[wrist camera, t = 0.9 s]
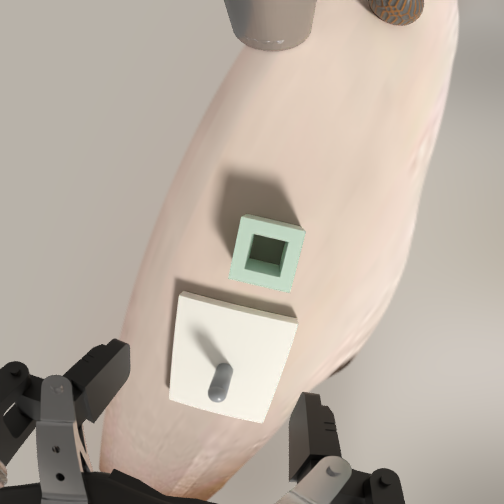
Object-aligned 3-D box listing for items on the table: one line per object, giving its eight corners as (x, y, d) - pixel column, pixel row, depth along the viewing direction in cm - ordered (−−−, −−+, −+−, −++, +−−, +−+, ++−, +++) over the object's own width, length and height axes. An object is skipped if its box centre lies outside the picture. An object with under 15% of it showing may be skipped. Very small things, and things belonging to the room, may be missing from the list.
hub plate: (183, 290, 30) (158, 315, 23) (297, 318, 29) (302, 351, 22) (172, 392, 33) (155, 425, 26) (263, 415, 32) (259, 453, 25)
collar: (246, 213, 27) (241, 216, 23) (301, 226, 27) (305, 231, 23) (235, 266, 28) (228, 278, 24) (287, 278, 28) (289, 292, 24)
